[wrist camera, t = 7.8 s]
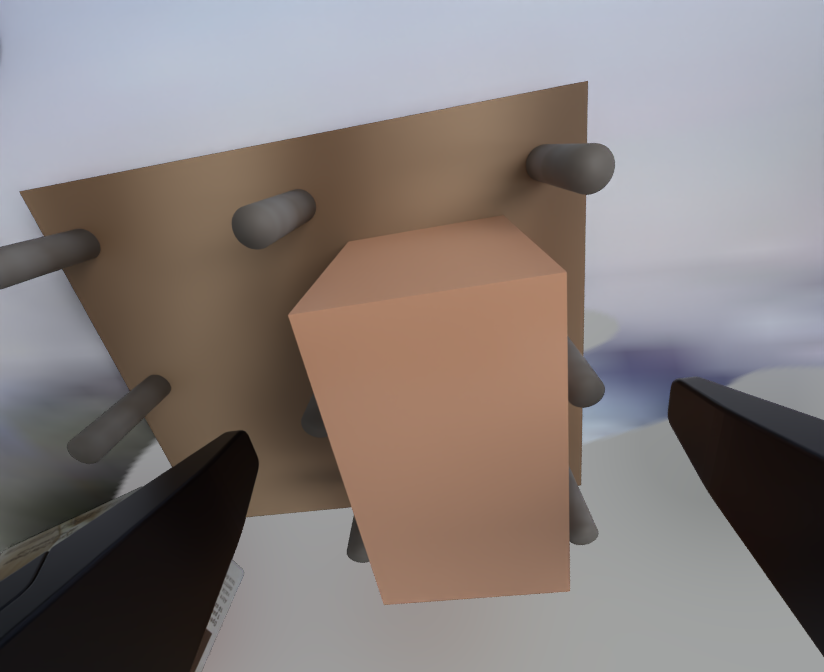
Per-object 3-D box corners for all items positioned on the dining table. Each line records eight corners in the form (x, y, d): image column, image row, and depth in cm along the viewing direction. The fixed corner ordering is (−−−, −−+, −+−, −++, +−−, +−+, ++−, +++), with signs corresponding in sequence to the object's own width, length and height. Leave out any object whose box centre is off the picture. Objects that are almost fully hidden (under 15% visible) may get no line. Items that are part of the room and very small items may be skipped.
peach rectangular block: (503, 215, 10) (567, 272, 5) (519, 435, 13) (570, 591, 8) (348, 241, 10) (288, 314, 6) (398, 449, 13) (383, 605, 9)
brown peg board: (572, 87, 10) (660, 51, 6) (571, 464, 15) (618, 568, 11) (52, 187, 11) (-130, 208, 7) (214, 500, 16) (153, 603, 12)
